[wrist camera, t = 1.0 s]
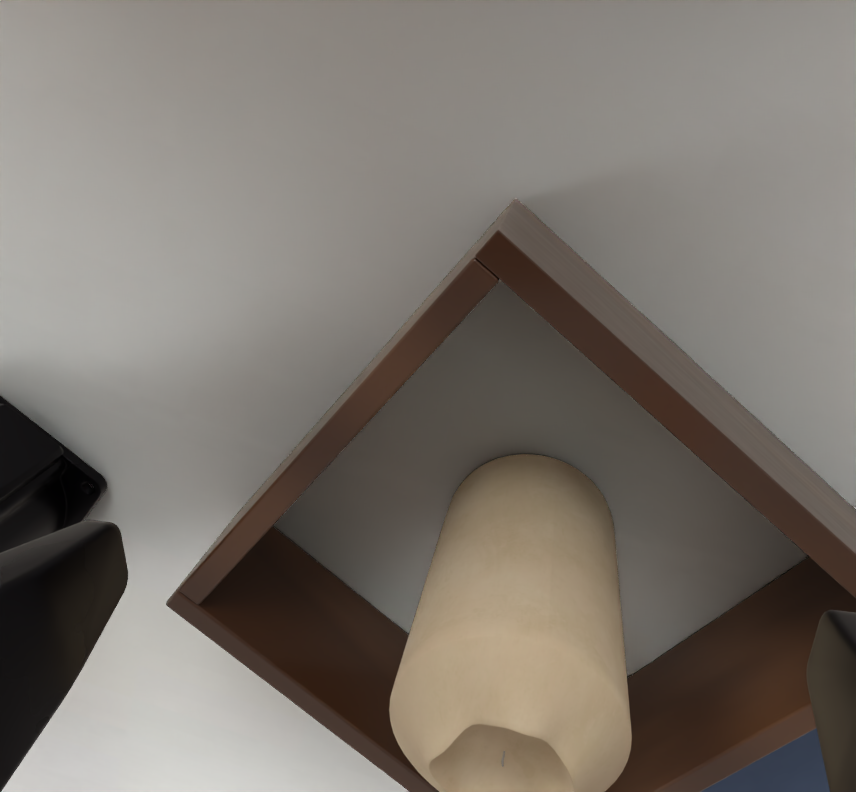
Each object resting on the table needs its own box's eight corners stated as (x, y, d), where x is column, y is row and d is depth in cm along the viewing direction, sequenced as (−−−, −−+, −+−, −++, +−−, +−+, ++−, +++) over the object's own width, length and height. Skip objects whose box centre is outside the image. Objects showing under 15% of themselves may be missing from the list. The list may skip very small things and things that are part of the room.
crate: (538, 758, 28) (531, 886, 24) (234, 516, 26) (163, 604, 22) (883, 534, 22) (962, 650, 17) (515, 197, 20) (497, 229, 16)
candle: (429, 560, 25) (347, 820, 16) (475, 428, 23) (410, 646, 14) (578, 613, 25) (579, 908, 16) (640, 485, 23) (682, 745, 14)
